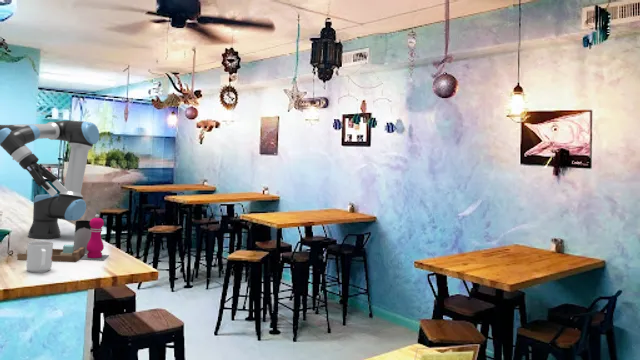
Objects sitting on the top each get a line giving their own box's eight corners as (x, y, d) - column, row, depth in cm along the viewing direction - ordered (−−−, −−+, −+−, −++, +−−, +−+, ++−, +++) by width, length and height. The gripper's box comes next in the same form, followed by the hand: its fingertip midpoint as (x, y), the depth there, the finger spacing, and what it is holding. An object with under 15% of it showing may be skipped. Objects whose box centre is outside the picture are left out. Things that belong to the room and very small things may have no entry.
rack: (29, 253, 221) (30, 244, 221) (84, 255, 226) (84, 247, 226) (17, 259, 208) (17, 250, 208) (75, 262, 213) (76, 253, 212)
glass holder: (72, 254, 226) (74, 222, 225) (72, 248, 239) (74, 218, 238) (92, 254, 230) (94, 223, 229) (91, 248, 243) (93, 218, 242)
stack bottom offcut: (65, 257, 221) (66, 250, 221) (76, 257, 221) (76, 251, 221) (60, 259, 216) (60, 252, 216) (71, 260, 216) (71, 253, 216)
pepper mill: (96, 259, 219) (99, 215, 218) (82, 257, 220) (85, 214, 220) (106, 256, 226) (109, 214, 225) (92, 254, 228) (95, 212, 227)
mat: (86, 254, 227) (86, 254, 227) (108, 255, 229) (108, 255, 229) (79, 259, 217) (80, 258, 217) (103, 260, 219) (103, 259, 219)
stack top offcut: (64, 251, 220) (64, 244, 219) (73, 251, 221) (74, 244, 221) (62, 252, 216) (63, 246, 216) (72, 253, 217) (73, 246, 217)
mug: (24, 268, 196) (25, 241, 195) (48, 266, 202) (50, 240, 201) (29, 275, 187) (31, 247, 186) (55, 273, 192) (56, 246, 192)
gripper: (29, 162, 229) (61, 195, 233) (6, 164, 205) (43, 201, 209) (42, 152, 230) (74, 185, 234) (21, 153, 206) (57, 190, 210)
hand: (59, 193), depth 221 cm, fingers open, 13 cm apart
